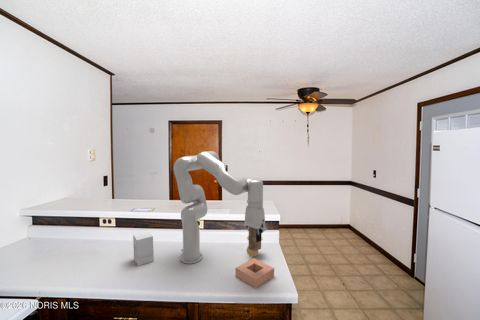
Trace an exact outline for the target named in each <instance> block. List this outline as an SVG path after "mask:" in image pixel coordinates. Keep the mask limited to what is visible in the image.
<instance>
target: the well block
mask: <svg viewBox="0 0 480 320" xmlns="http://www.w3.org/2000/svg"><path fill="white" fill-rule="evenodd" d="M234 269H235V270H234V271H235V272H234V273H235V274H234V276H235V277H236V278H237V279H239V280H241V281H243V282H245V283H246V284H248V285H250V286H251V287H253V288H255V289H257V288H258V287H260V286H261V285H263V284H264V283H266V282H268V281H269V280H271V279H272V278H274V277H275V267H272V266H271V265H269V264H266V263H265V262H263V261H261V260H258V259H256V258H252V259H249V260H248V261H246V262H244V263H241V264H240V265H238V266H236V267H235V268H234Z"/></svg>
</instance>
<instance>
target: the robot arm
mask: <svg viewBox="0 0 480 320" xmlns="http://www.w3.org/2000/svg"><path fill="white" fill-rule="evenodd" d="M219 156H220V155H218V153H217V152H215V151H213V150H211V151H210V150H209V151H202V152H199V153H198V154H197V155H187V156H182V157H179V158H177V159H176V160H175V162H174V163H173V172H174V177H175V181H176V183H177V190H178V194H179V198H180V201H181V203H182V204H189V205H187V206H184V208H182V209H181V212H180V219H181V223H182V249H181V250H180V251H181V252H182V254H181V256H180V257H179V259H180V262H181V263H184V264H189V265H190V264H197V263H199V262H201V261H202V259H203V254H202V253H201V252H200V251H201V250H200V245H201V244H200V243H201V242H200V241H201V240H200V239H201V238H200V234H201V233H200V226H199V224H198V220H200V219H202V218H204V217H205V216H206V215H207V213H208V205H207V200H206V199H207V198H206V194H205V191H204V189H203V186H201V185H200V184H193V178H192V177H191V174H190V173H189V172H190V171H197V170H203V169H204V170H205V171H207V172H208V173H209V174H210V175H212V176H213V177H215V179H216V181H217V182H218V184H219V185H220V187H221V188H222V189H224V190H225V191H226V192H228V193H229V194H231V195H233V196H239V195H241V194H245V193H247V200H246V203H247V205H246V208H245V213H244V221H243V222H244V225H245V226H246V228H247V232H249V227H252V228H255V229H257V234H256V242H259V241H261V237H262V234H263V233H264V232H265V231H267V230H268V227H267V226H266V216H265V209H264V207H263V206H264V182H263V180H262V179H257V178H256V179H255V178H248V177H240V178H236V179H235V178H234V177H232V175H230V174H229V173H228V172H227V170H226V169H227V164H225V162H223V161H221V160H220V157H219ZM190 203H192V204H190ZM259 229H260V231H259ZM261 242H262V241H261Z"/></svg>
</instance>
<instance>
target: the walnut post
mask: <svg viewBox="0 0 480 320" xmlns="http://www.w3.org/2000/svg"><path fill="white" fill-rule="evenodd" d="M259 231H260V229H259ZM256 234H257V229H255V228H252V227H249V231H248V236H249V240H248V246H249V249H250V250H253V251H257V250H258V251H259V250H261V249H262V241H259V242H256Z"/></svg>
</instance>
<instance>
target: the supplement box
mask: <svg viewBox="0 0 480 320" xmlns="http://www.w3.org/2000/svg"><path fill="white" fill-rule="evenodd" d="M132 238H133V239H132V243H133V260H134V262H135V264H136V265H137V266H138V267H139V266H142V265H146V264H150V263H153V262H154V261H155V258H154V256H155V255H154V235H152V234H151V233H150V232H149V231H146V232H141V233H137V234H132Z"/></svg>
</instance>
